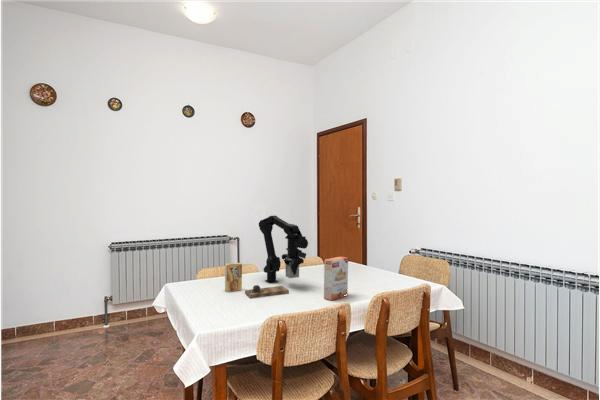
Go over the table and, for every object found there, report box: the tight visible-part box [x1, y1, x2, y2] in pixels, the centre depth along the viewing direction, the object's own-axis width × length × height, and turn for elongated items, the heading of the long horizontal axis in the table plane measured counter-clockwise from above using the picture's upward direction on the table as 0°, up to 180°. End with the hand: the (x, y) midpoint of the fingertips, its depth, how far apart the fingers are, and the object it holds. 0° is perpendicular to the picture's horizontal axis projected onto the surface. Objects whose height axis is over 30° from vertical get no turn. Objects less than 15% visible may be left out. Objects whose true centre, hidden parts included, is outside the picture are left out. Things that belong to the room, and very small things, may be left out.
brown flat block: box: [244, 284, 290, 299], centre depth 197 cm, size 22×10×5 cm, turn 116°
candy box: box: [224, 262, 243, 293], centre depth 203 cm, size 9×4×15 cm, turn 116°
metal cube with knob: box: [285, 262, 300, 279], centre depth 210 cm, size 6×6×8 cm
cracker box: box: [323, 256, 349, 301], centre depth 190 cm, size 14×6×21 cm, turn 137°
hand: (292, 273), depth 210 cm, fingers closed on metal cube with knob, 6 cm apart
